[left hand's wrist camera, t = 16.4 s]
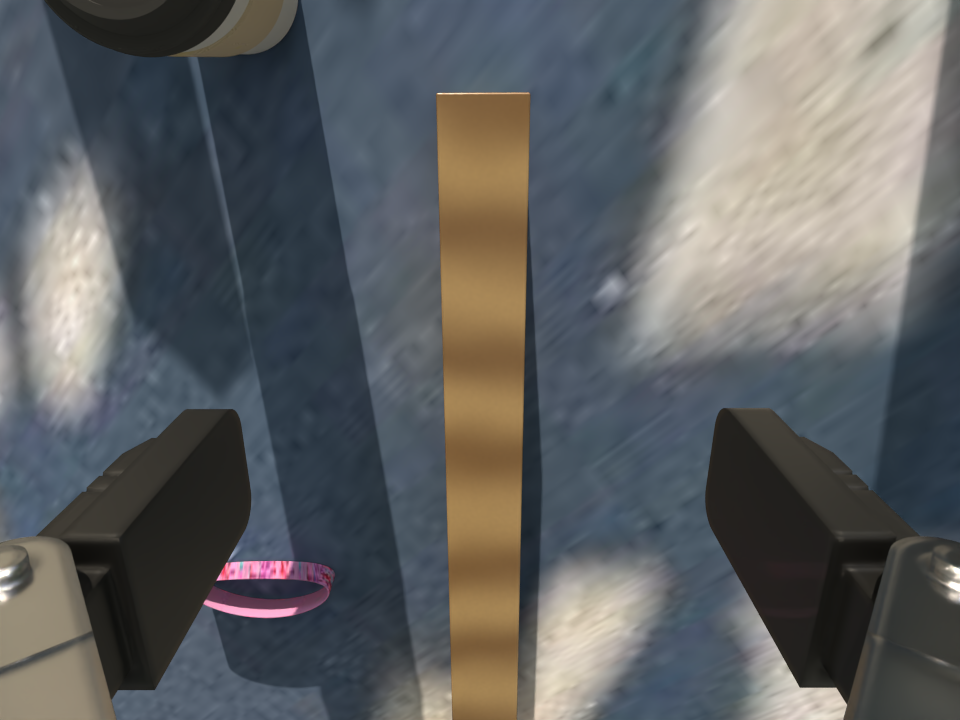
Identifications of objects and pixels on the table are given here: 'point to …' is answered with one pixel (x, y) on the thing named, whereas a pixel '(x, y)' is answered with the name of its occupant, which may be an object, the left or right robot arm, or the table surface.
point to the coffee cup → (180, 25)
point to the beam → (483, 386)
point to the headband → (271, 571)
